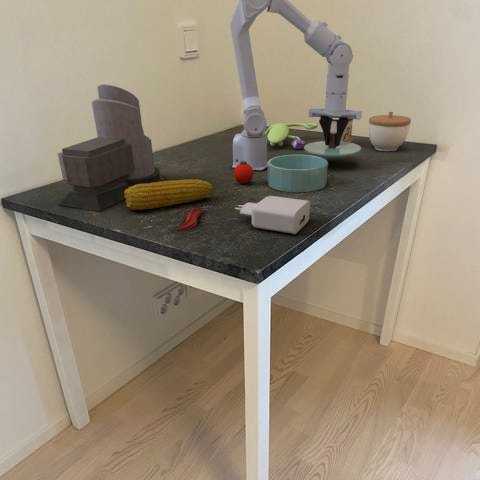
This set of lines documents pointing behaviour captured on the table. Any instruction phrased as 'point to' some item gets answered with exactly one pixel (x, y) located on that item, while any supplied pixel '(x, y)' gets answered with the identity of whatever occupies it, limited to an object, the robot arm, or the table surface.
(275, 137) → the figurine
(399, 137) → the lidded bowl
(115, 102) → the grey piece
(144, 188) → the food
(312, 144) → the pan lid
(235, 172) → the tomato
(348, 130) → the teacup with lid
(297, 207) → the charger
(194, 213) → the cayenne pepper
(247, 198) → the table surface
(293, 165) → the pan
